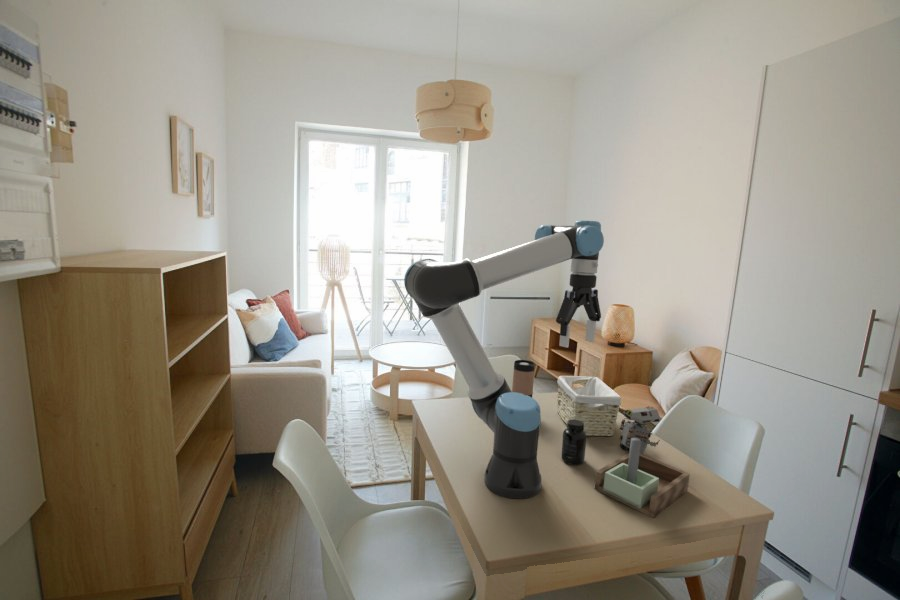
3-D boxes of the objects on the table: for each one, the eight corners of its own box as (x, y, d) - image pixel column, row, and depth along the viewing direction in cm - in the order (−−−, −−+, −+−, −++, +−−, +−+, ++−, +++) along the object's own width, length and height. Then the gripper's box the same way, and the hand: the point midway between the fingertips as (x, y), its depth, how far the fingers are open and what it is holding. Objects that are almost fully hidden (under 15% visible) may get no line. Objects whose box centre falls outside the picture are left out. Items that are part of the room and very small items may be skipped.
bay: (653, 518, 111) (655, 498, 111) (594, 488, 123) (596, 471, 122) (687, 491, 124) (689, 473, 124) (631, 467, 136) (633, 451, 136)
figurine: (662, 462, 141) (668, 415, 138) (624, 459, 141) (630, 413, 139) (650, 448, 150) (655, 404, 147) (614, 446, 150) (619, 402, 148)
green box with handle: (640, 508, 113) (646, 452, 111) (603, 490, 120) (608, 437, 118) (656, 496, 119) (663, 442, 117) (620, 479, 126) (626, 428, 124)
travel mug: (508, 410, 176) (511, 359, 174) (527, 410, 177) (531, 359, 174) (513, 418, 169) (517, 365, 166) (533, 418, 170) (537, 365, 167)
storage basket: (553, 410, 179) (556, 374, 177) (594, 412, 179) (598, 375, 177) (571, 437, 155) (575, 395, 153) (619, 439, 156) (623, 397, 154)
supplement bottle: (565, 452, 143) (569, 415, 142) (587, 459, 140) (591, 422, 138) (557, 460, 138) (560, 422, 136) (579, 468, 134) (583, 429, 132)
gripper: (569, 275, 125) (563, 351, 128) (617, 274, 141) (610, 341, 144) (547, 273, 130) (541, 346, 133) (595, 272, 147) (589, 337, 150)
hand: (577, 343), depth 139 cm, fingers open, 13 cm apart
